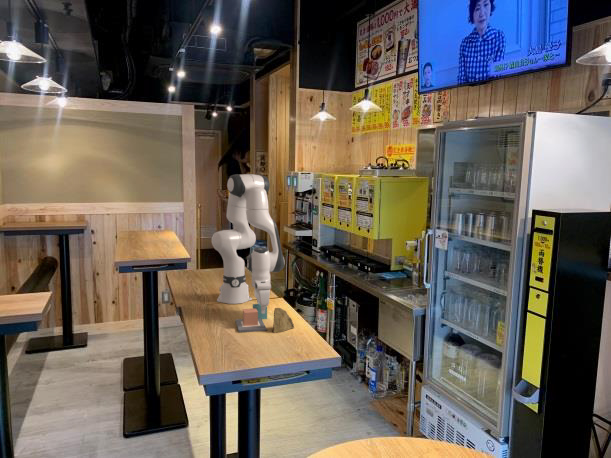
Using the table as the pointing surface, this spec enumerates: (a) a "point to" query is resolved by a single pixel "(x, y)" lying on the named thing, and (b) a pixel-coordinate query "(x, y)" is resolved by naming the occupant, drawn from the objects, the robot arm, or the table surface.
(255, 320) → the terracotta block
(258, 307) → the teal block
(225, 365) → the table surface
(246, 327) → the grey flat plate
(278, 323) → the rock
